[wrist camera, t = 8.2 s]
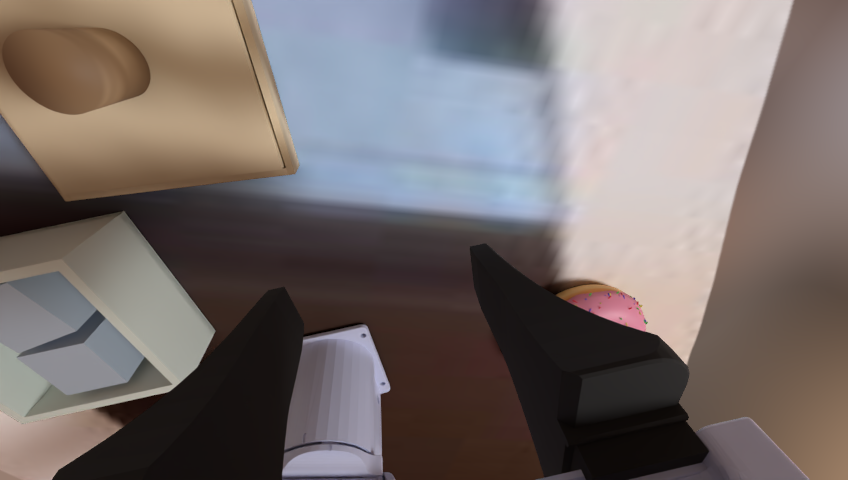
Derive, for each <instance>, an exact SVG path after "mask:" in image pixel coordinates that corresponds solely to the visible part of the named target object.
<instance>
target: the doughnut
mask: <svg viewBox="0 0 848 480" xmlns="http://www.w3.org/2000/svg"><path fill="white" fill-rule="evenodd" d="M556 296H558V297H559V298H561V299H563V300H565V301H567V302H569V303H571V304H573V305H575V306H578V307H580V308H582V309H584V310H586V311H588V312H591V313H593V314H596V315H598V316H600V317H603V318H606V319H608V320H611V321H614V322H616V323H619V324H622V325H625V326H628V327H632V328H635V329H638V330H641V331H645V330H646V324H647V323H648V322H646V320H645V318H644V315H643V312H642V310H641V308H640V307H642V305H639V304H638V302H637V301H636V300H635V298H634V299H633V298H632V297H631V296H629V295H627V294H626V293H624V292H622V291H621V290H619V289H617V288H614V287H611V286H606V285H598V284H591V285H582V286H577V287H573V288H570V289H567V290H565V291H562V292H560V293H558V294H556Z"/></svg>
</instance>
